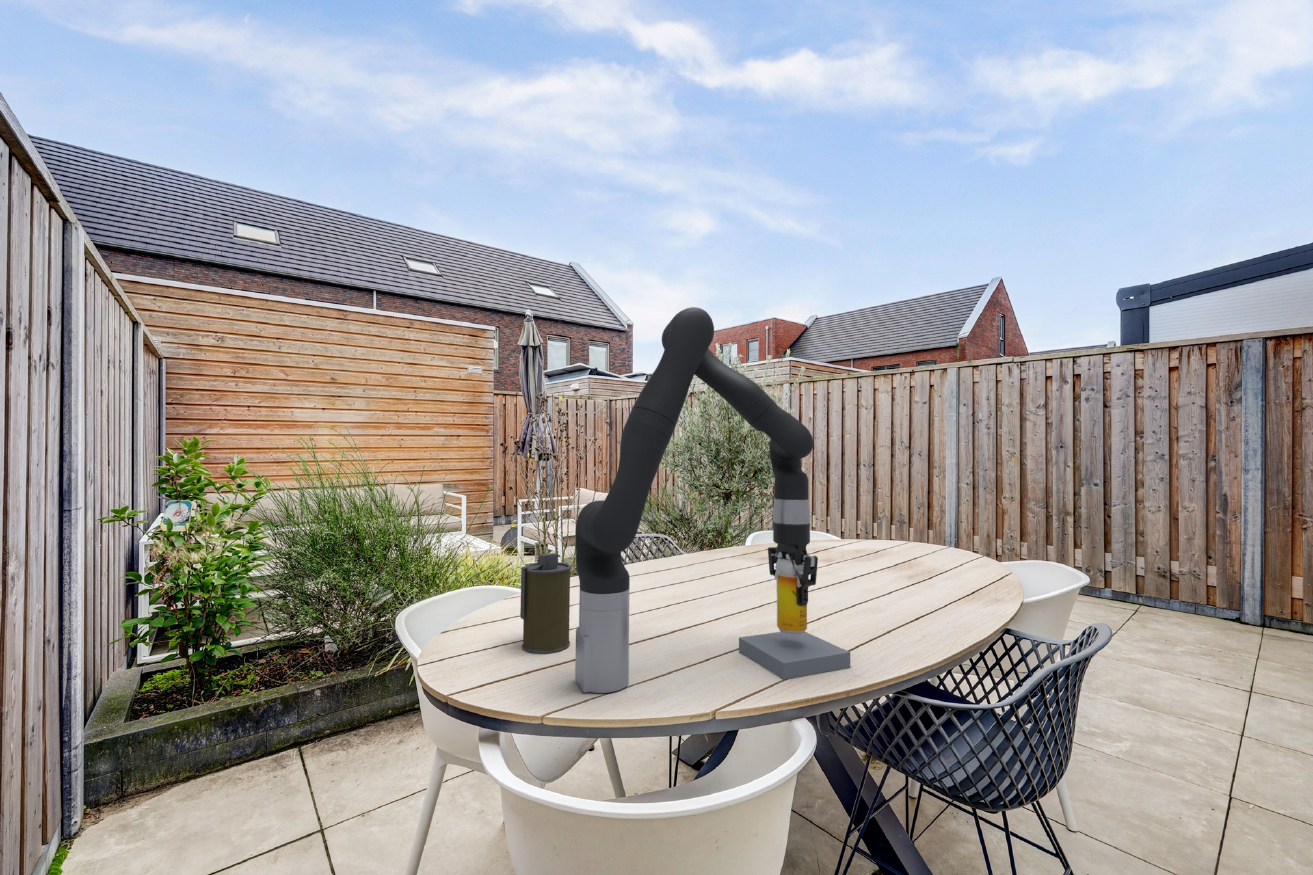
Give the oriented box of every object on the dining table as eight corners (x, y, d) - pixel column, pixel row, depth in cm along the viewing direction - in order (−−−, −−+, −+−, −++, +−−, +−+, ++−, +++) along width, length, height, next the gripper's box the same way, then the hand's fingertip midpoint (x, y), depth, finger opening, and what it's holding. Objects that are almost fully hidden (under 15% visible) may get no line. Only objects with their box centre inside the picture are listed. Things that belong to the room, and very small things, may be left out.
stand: (784, 679, 100) (784, 663, 100) (738, 651, 114) (738, 637, 115) (850, 667, 106) (850, 652, 106) (799, 642, 121) (799, 628, 121)
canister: (559, 635, 124) (560, 549, 125) (577, 648, 116) (579, 555, 117) (513, 643, 119) (515, 553, 120) (529, 657, 110) (531, 560, 111)
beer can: (807, 636, 107) (807, 561, 107) (776, 634, 108) (776, 560, 109) (806, 627, 113) (806, 556, 113) (777, 625, 114) (776, 555, 115)
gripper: (829, 523, 106) (829, 608, 106) (785, 516, 120) (785, 592, 119) (798, 525, 103) (799, 612, 103) (757, 517, 117) (757, 595, 116)
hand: (791, 601), depth 111 cm, fingers closed on beer can, 6 cm apart
